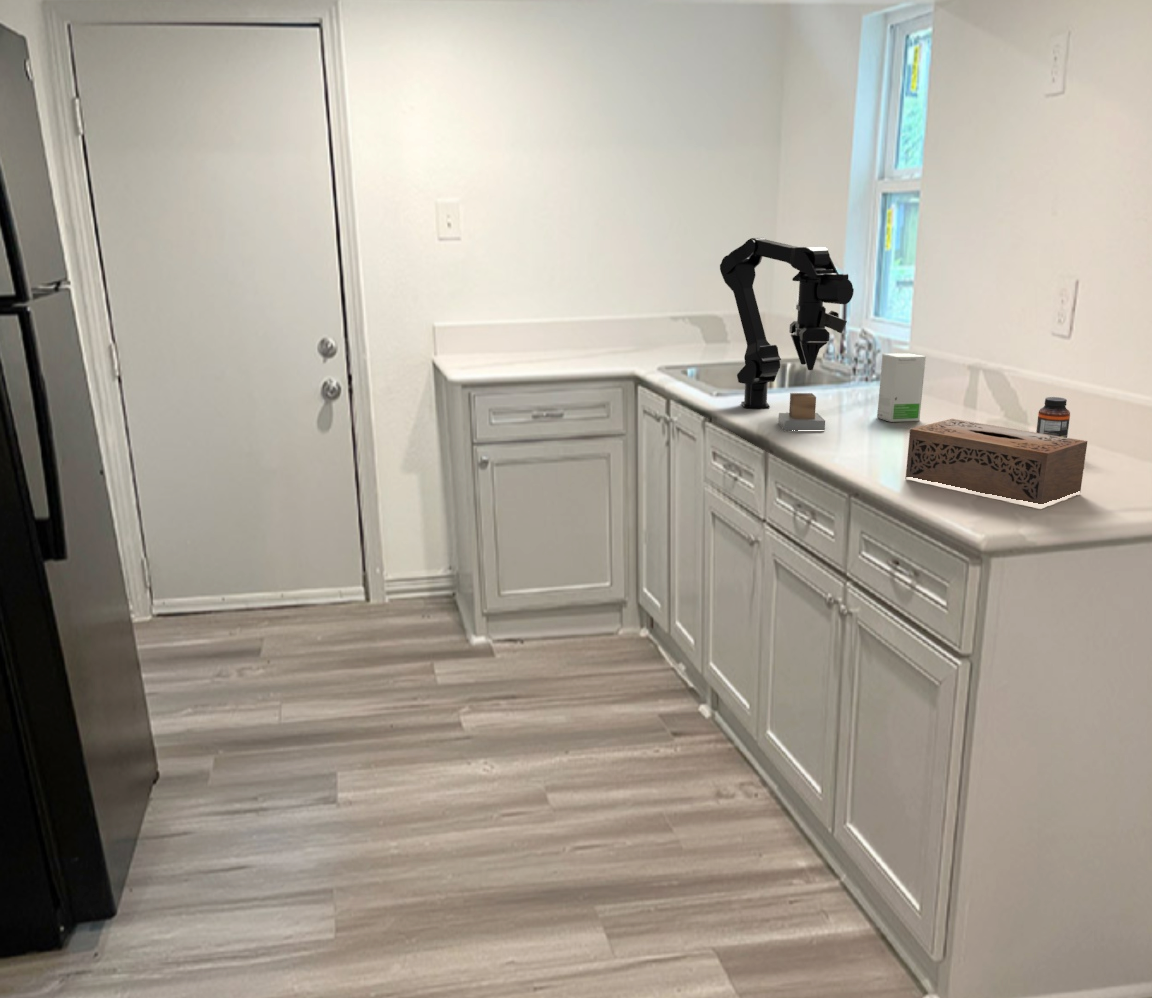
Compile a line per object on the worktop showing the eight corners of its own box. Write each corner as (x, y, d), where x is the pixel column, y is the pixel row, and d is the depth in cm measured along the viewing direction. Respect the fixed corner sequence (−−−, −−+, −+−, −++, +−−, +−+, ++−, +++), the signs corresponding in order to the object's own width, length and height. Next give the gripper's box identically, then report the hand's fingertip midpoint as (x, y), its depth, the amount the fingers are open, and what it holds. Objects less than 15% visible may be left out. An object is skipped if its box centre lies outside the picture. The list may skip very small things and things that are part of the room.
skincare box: (890, 422, 240) (895, 357, 236) (875, 417, 246) (880, 353, 242) (921, 421, 242) (927, 355, 238) (905, 415, 249) (911, 352, 244)
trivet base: (778, 425, 240) (778, 412, 239) (816, 425, 240) (817, 412, 239) (784, 433, 232) (785, 420, 231) (824, 433, 231) (825, 420, 231)
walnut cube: (789, 414, 238) (790, 393, 236) (810, 414, 237) (811, 393, 236) (792, 418, 233) (794, 397, 231) (814, 418, 233) (816, 397, 231)
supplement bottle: (1038, 447, 215) (1045, 394, 212) (1068, 451, 211) (1075, 398, 208) (1030, 452, 211) (1036, 398, 208) (1060, 457, 207) (1067, 402, 204)
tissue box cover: (1079, 496, 180) (1087, 441, 177) (1040, 511, 171) (1047, 453, 168) (947, 469, 199) (952, 418, 196) (905, 481, 190) (910, 428, 187)
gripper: (854, 305, 231) (849, 373, 236) (836, 298, 249) (832, 361, 253) (804, 305, 232) (800, 373, 236) (790, 298, 250) (787, 361, 254)
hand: (806, 367), depth 245 cm, fingers open, 9 cm apart
